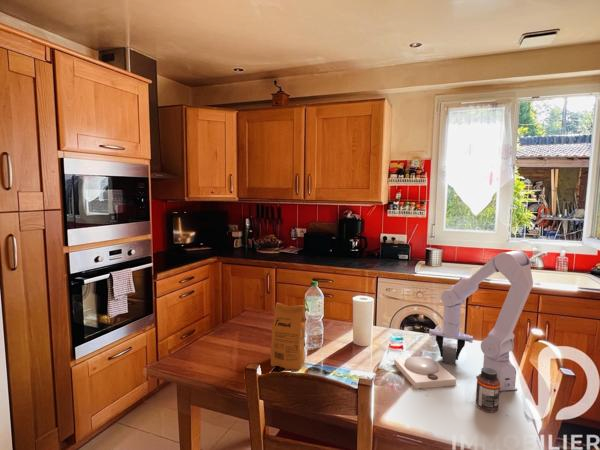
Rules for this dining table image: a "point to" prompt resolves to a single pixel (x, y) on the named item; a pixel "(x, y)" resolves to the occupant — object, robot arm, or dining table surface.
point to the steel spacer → (449, 353)
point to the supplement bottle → (488, 390)
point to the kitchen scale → (424, 372)
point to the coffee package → (288, 337)
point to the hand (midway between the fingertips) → (449, 357)
